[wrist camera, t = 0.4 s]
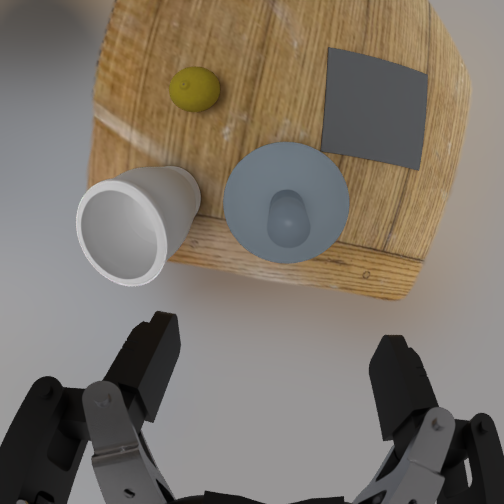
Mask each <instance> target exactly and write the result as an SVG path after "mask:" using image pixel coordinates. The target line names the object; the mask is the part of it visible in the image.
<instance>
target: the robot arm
mask: <svg viewBox="0 0 504 504" xmlns="http://www.w3.org/2000/svg"><path fill="white" fill-rule="evenodd" d="M180 347H181V342H180V334H179V327H178V319H177V316H176V314H172V313H167V312H161V311H156V312H155V314H154V316H153V317H152V319H151V321H150V322H149V323H148V322H144V321H143V322H141V323H140V324H139V325H137V326H136V327H135V328H134V329H133V330H132V332H131V333H130V335H129V336H128V338H127V341H125V343H124V345H123V346H122V349H121V350H120V351H119V353H118V355H117V357H116V358H115V360H114V362H113V363H112V365H111V367H110V369H109V370H108V372H107V374H106V376H105V377H104V379H103V380H102V381H97V382H95V383H92V384H91V385H89V386H88V387H87V388H86V389H78V388H67V387H63V386H62V385H61V383H60V382H59V381H58V380H57V379H56V378H54V377H51V376H45V377H42V378H40V379H38V380H37V381H35V382H34V384H33V385H32V387H31V388H30V390H29V392H28V394H27V395H26V397H25V399H24V401H23V402H22V404H21V406H20V408H19V410H18V412H17V414H16V415H15V417H14V419H13V421H12V423H11V425H10V427H9V429H8V432H7V433H6V435H5V438H4V440H3V442H2V444H1V446H0V504H67V501H68V498H69V495H70V492H71V488H72V485H73V482H74V479H75V476H76V473H77V470H78V467H79V465H80V462H81V459H82V456H83V453H84V451H85V448H86V445H87V442H88V440H89V441H92V445H93V448H94V455H93V456H92V458H91V460H92V466H93V469H94V472H95V475H96V478H97V481H98V484H99V487H100V489H101V492H102V495H103V497H104V500H105V502H106V504H265V503H261V502H258V501H254V500H251V499H248V498H245V497H242V496H237V495H229V494H222V493H216V492H210V491H205V493H204V495H197V496H189V497H184V498H180V499H177V500H176V499H175V497H174V495H173V493H172V492H171V490H170V488H169V486H168V485H167V483H166V481H165V479H164V477H163V476H162V474H161V473H160V471H159V469H158V467H157V465H156V463H155V460H154V458H153V456H152V454H151V452H150V449H149V447H148V445H147V442H146V440H145V438H144V435H143V433H142V430H141V428H142V425H143V423H144V420H145V421H149V422H152V423H153V422H154V420H155V417H156V415H157V412H158V409H159V406H160V404H161V401H162V399H163V396H164V393H165V391H166V388H167V385H168V383H169V380H170V377H171V375H172V372H173V369H174V367H175V364H176V362H177V359H178V357H179V353H180ZM423 367H424V366H423V364H422V361H421V359H420V357H419V355H418V354H417V353H416V352H415V351H414V350H413V349H412V348H408V346H407V343H406V341H405V339H404V337H403V336H402V335H384V336H383V337H382V339H381V341H380V343H379V345H378V347H377V349H376V351H375V353H374V355H373V357H372V359H371V361H370V364H369V376H370V380H371V385H372V389H373V393H374V398H375V402H376V407H377V412H378V417H379V421H380V427H381V431H382V437H383V441H388V440H393V441H394V445H393V446H392V448H391V449H390V451H389V453H388V454H387V456H386V458H385V460H384V461H383V463H382V465H381V466H380V468H379V470H378V471H377V473H376V475H375V476H374V478H373V479H372V481H371V482H370V484H369V485H368V486H367V487H366V488H365V489H364V490H363V491H362V492H361V493H360V494H359V495H358V496H357V497H356V499H355V500H354V501H353V502H352V503H349V502H344V496H341V497H330V498H314V499H313V498H312V499H308V500H304V501H300V502H295V503H291V504H435V501H436V500H437V504H504V455H503V451H502V447H501V444H500V440H499V437H498V433H497V430H496V427H495V424H494V421H493V420H492V418H491V417H490V416H489V415H487V414H485V413H478V414H476V415H475V416H474V417H473V418H472V419H471V420H470V421H467V420H458V419H454V417H453V416H452V414H451V413H450V412H449V411H448V410H446V409H444V408H441V407H439V405H438V403H437V400H436V397H435V394H434V392H433V389H432V386H431V384H430V381H429V379H428V377H427V374H426V371H425V369H424V368H423ZM467 458H469V463H470V468H471V473H472V484H471V486H470V487H468V482H467V475H466V470H465V465H464V460H466V459H467Z"/></svg>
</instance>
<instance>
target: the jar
mask: <svg viewBox="0 0 504 504" xmlns="http://www.w3.org/2000/svg"><path fill="white" fill-rule="evenodd" d="M200 202H201V194H200V189H199V186H198V184H197V182H196V180H195V179H194V177H193V176H192V175H191V174H190V173H189V172H187V171H186V170H184V169H182V168H180V167H176V166H165V167H140V168H135V169H132V170H129V171H126V172H124V173H122V174H120V175H118V176H116V177H115V178H113V179H107V180H104V181H101V182H99V183H97V184H95V185H94V186H92V187H91V188H90V189H89V190H88V191H87V192H86V193H85V194H84V196H83V197H82V199H81V201H80V203H79V206H78V210H77V215H76V229H77V235H78V239H79V243H80V245H81V248H82V250H83V252H84V254H85V256H86V257H87V259H88V260H89V262H90V263H91V264H92V266H93V267H94V268H95V269H96V270H97V271H98V272H99V273H101V275H103V276H104V277H106V278H107V279H109V280H111V281H112V282H115V283H117V284H120V285H123V286H130V287H131V286H133V287H135V286H141V285H144V284H147V283H149V282H151V281H152V280H153V279H155V278H156V276H157V275H158V274H159V273H160V271H161V270H162V268H163V267H164V265H165V263H166V261H167V260H168V259H169V258H170V257H171V256H172V255H173V254H174V253H175V252H176V251H177V250H178V249H179V247H180V246H181V245H182V243H183V242H184V240H185V238H186V236H187V234H188V232H189V230H190V227H191V224H192V222H193V219H194V217H195V215H196V214H197V212H198V210H199V207H200Z"/></svg>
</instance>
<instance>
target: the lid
mask: <svg viewBox="0 0 504 504" xmlns="http://www.w3.org/2000/svg"><path fill="white" fill-rule="evenodd" d="M223 205H224V214H225V218H226V221H227V224H228V226H229V228H230V231H231V232H232V234H233V235H234V237H235V238H236V239H237V241H238V242H239V243H240V244H241V245H242V246H243V247H244V248H245V249H247V250H248V251H249V252H251V253H252V254H254V255H256V256H258V257H260V258H262V259H265V260H268V261H271V262H277V263H297V262H302V261H306V260H309V259H311V258H314V257H316V256H318V255H319V254H321V253H323V252H324V251H325V250H327V249H328V248H329V247H330V246H331V245H332V244H333V243H334V242H335V241H336V240H337V238H338V237H339V236H340V234H341V232H342V230H343V229H344V226H345V224H346V221H347V217H348V213H349V194H348V189H347V185H346V182H345V180H344V178H343V176H342V174H341V172H340V171H339V169H338V168H337V166H336V165H335V164H334V163H333V162H332V161H331V160H330V159H329V158H328V157H327V156H326V155H324V154H323V153H321V152H320V151H318V150H316V149H314V148H312V147H310V146H307V145H304V144H301V143H295V142H276V143H272V144H267V145H265V146H262V147H259V148H258V149H256V150H254V151H252V152H251V153H249V154H248V155H247V156H245V157H244V158H243V159H242V160H241V161H240V162H239V163H238V164H237V166H236V167H235V168H234V170H233V171H232V173H231V175H230V176H229V179H228V181H227V184H226V187H225V191H224V199H223Z"/></svg>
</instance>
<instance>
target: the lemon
mask: <svg viewBox="0 0 504 504" xmlns="http://www.w3.org/2000/svg"><path fill="white" fill-rule="evenodd" d="M169 94H170V97H171V99H172V101H173V103H174V104H175V105H176V106H178V107H179V108H181V109H182V110H184V111H188V112H200V111H204V110H206V109H208V108H210V107H211V106H212V105H213V104H214V103H215V102H216V101H217V99H218V97H219V95H220V83H219V81H218V78H217V77H216V76H215V75H214V73H212V72H211V71H210V70H208V69H205V68H202V67H188V68H185V69H183V70H181V71H179V72H178V73H177V74H176V75H175V76H174V77H173V79H172V80H171V82H170V86H169Z"/></svg>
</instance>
